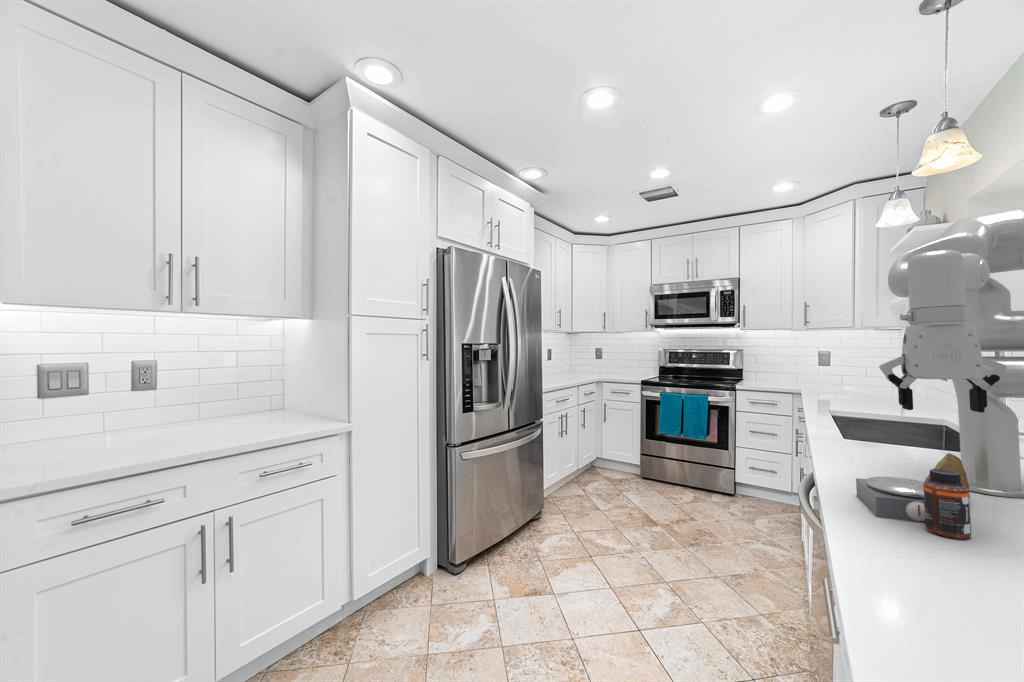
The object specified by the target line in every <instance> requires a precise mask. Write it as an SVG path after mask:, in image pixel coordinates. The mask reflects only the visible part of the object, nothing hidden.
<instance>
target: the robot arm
mask: <svg viewBox="0 0 1024 682" xmlns="http://www.w3.org/2000/svg"><path fill="white" fill-rule="evenodd" d="M1023 270H1024V208H1021V207H1020V208H1013V209H1008V210H1002V211H998V212H992V213H987V214H980V215H976V216H971V217H966V218H963V219H961V220H958V221H955V222H953V223H952V224H951V225H949V226H948V227H947V228H946V229H945V231H944V232H943V233H942V235H941V237H939V239H936V240H934V241H931V242H929V243H927V244H923V245H922V246H920V247H917V248H913V249H911V250H909V251H907V252H904V253H903V254H901V255H899V257H897V259H896V260H895V261H894V263H893V264H892V265H891V267H890V269H889V271H888V274H887V286H888V288H889V290H890V292H891V293H892V294H893V296H896V297H899V298H903V299H904V298H906V299H907V298H908V306H909V307H908V309H909V310H907V312H905V313H900V314H899V320H900V321H905V322H908V324H909V326H906V327H905V329H904V335H903V339H902V346H901V356H899V357H896V358H893V359H892V360H889V361H886V362H884V363H882V364H880V365H879V366H878V368H879V369H880V371H881V372H882V374H883V375H884V377H885V378H886V379H887V380H888V381H889V382H891V384H893V385H894V386H895V387H896V388H898V389H897V390H898V391H897V393H898V404H899V405H900V406H901V408H902V409H903V410H906V411H912V410H914V396H913V395H914V394H913V389H912V388H911V387H910V386H911V385H913V383H914V382H915V381H917V379H920V380H921V379H923V380H952V384H953V387H954V391H955V395H956V396H955V397H956V401H957V402H956V403H957V410H958V412H957V413H958V414H957V415H958V426H959V427H958V428H959V429H958V431H959V449H960V460H961V462H962V464H963V468H964V471H965V472H966V477H967V481H968V485H969V492H975V493H979V494H984V495H985V494H986V495H989V496H998V497H1007V498H1024V485H1022V470H1021V469H1022V468H1021V453H1020V434H1019V433H1020V431H1019V418H1018V417H1017V414H1016V412H1015V411H1013V410H1012V408H1011V407H1009V406H1008V405H1007V404H1006V403H1005V402H1003V401H1002V400H1001V398H1006V399H1007V398H1009V399H1010V398H1011V399H1013V398H1014V399H1015V398H1017V399H1024V356H1005V355H1001V356H998V355H997V356H991V355H990V356H986V355H985V356H983V355H982V352H990V353H991V352H993V353H995V352H996V353H997V352H1001V353H1002V352H1024V310H1023V309H1022V310H1012V307H1011V305H1012V304H1011V301H1012V300H1011V299H1012V298H1011V297H1012V296H1011V291H1010V290H1009V289H1008V288H1007V287H1006V286H1005V285H1003V284H1002V283H1001V282H999V280H996V279H994V278H992V277H990V276H991V274H997V273H1004V272H1013V271H1014V272H1015V271H1023ZM899 366H900V367H901V372H902V376H901V377H899V376H897V375H896V374H895V373H894V371H893V369H894V368H896V367H899Z"/></svg>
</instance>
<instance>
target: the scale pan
mask: <svg viewBox="0 0 1024 682" xmlns="http://www.w3.org/2000/svg"><path fill="white" fill-rule="evenodd" d="M866 479H867V485H868V486H870V487H872V488H874V489H877V490H880V491H883V492H887V493H892V494H897V495H902V496H909V497H918V498H924V489H923V485H924V481H921V480H917V479H910V478H905V477H896V476H895V477H894V476H871V477H868V478H866Z"/></svg>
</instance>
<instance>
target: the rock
mask: <svg viewBox="0 0 1024 682" xmlns="http://www.w3.org/2000/svg"><path fill="white" fill-rule="evenodd" d="M933 469H944V470H951V471H955V472H958V473H960V478H961V480H960V482H961V484H962V485H964V486H966V487H967V488H968V490H969V485H968V481H967V477H966V472H965V471H964V468H963V464H962V462H961V457H958V456H957V455H955V454H953V453H949V452H947V453H946V454H945V456H943V457H942V458H941V459H940V461H938V462H937V464H936V465H935V467H934V468H933ZM929 475H930V473H929V474H928V476H926V477H925V479H924V481H923V482H925V481H927V480H928V479H929V478H930V476H929ZM969 491H970V490H969ZM970 496H971V495H970V494H969V500H970V498H971V497H970Z"/></svg>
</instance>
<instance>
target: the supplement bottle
mask: <svg viewBox="0 0 1024 682" xmlns="http://www.w3.org/2000/svg"><path fill="white" fill-rule="evenodd" d="M929 474H930V475H929ZM929 474H928V475H929V476H930V478H929V479H928V480H927V481H925V480H924V481H925V482H924V481H923V482H924V485H923V489H924V508H925V522H924V523H925V528H926V529H927V530H928V531H929V532H931V533H932V532H933V534H935V535H937V534H938V535H937V536H940V535H941V536H940V537H944V538H950V539H955V540H956V539H959V540H967V539H969V538H971V537H972V525H971V523H972V522H971V509H970V507H971V505H970V499H969V495H970V490H968V488H967V487H966V486H964V485H962V484H961V482H960V480H961V478H960V473H958V472H955V471H951V470H944V469H934V468H931V469H929Z"/></svg>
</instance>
